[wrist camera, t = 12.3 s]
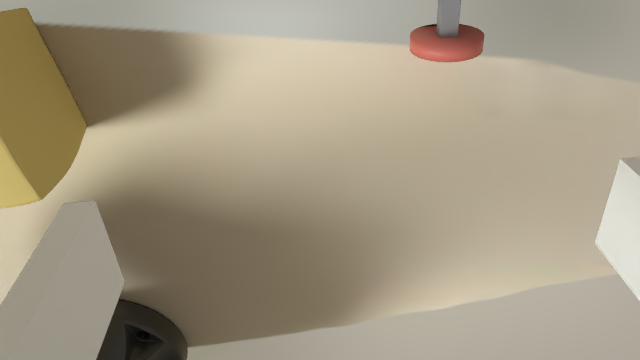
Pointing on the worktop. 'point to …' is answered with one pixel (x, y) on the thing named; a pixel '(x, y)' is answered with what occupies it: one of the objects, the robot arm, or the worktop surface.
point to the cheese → (33, 114)
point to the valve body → (447, 37)
